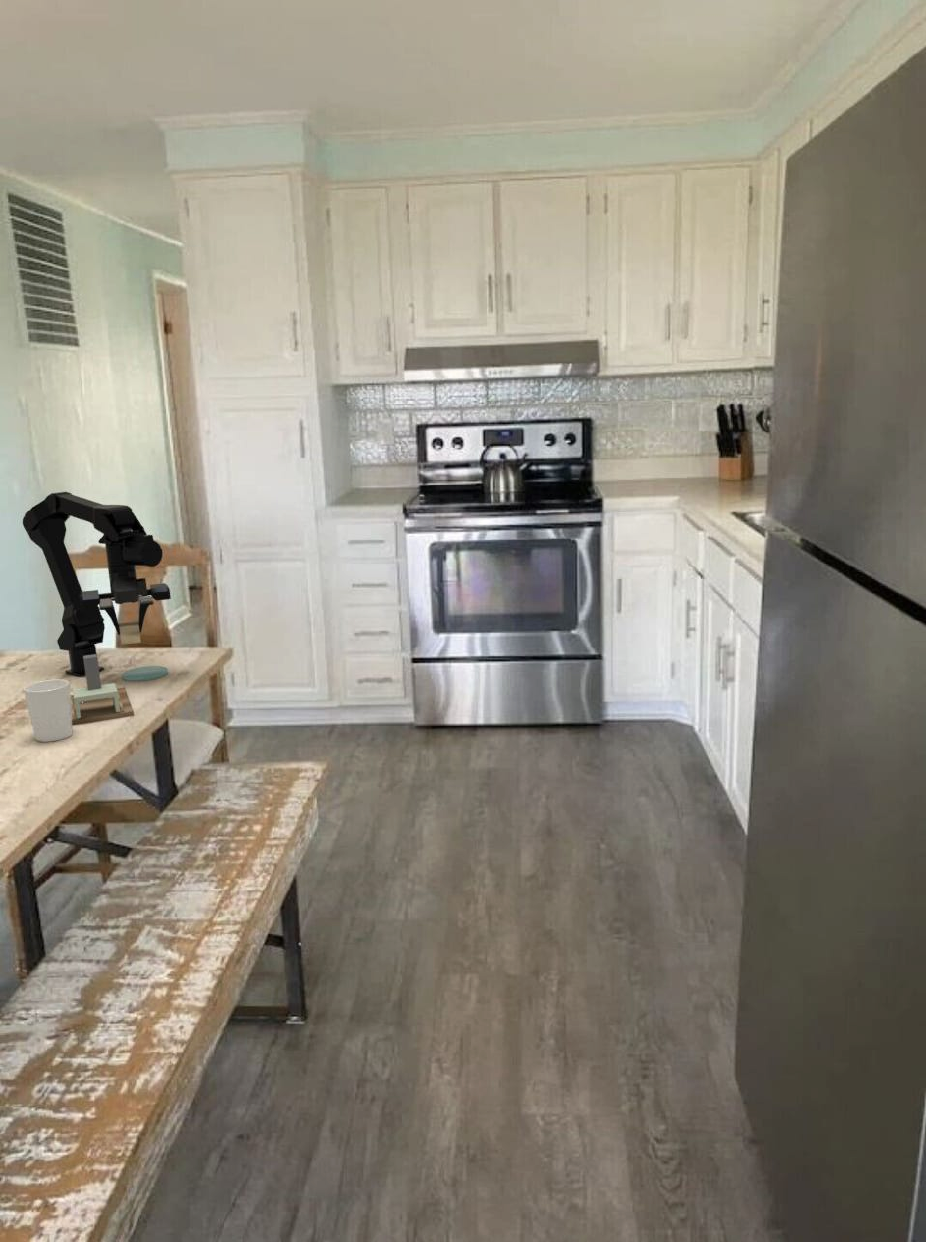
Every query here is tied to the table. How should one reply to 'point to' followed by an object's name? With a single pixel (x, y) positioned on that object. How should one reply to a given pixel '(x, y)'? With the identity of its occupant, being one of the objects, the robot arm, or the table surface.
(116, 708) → the sliding cover
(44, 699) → the white cup
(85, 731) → the table surface
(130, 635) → the block
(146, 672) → the teal saucer
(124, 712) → the puzzle board
